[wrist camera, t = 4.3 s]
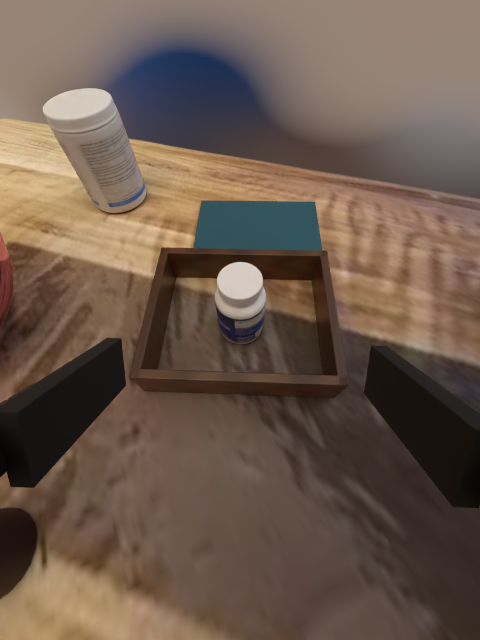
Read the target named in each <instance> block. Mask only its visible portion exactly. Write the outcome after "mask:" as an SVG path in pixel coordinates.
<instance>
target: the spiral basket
mask: <svg viewBox="0 0 480 640" xmlns="http://www.w3.org/2000/svg"><path fill="white" fill-rule="evenodd" d="M12 294H13V273H12V267H11V262H10V257H9V254H8V251H7V248H6V245H5V242H4V240H3V237H2V235H1V233H0V327H1V326H2V324H3V322H4V321H5V319H6V316H7V314H8V311H9V308H10V304H11V300H12Z"/></svg>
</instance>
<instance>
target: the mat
mask: <svg viewBox="0 0 480 640" xmlns="http://www.w3.org/2000/svg"><path fill="white" fill-rule="evenodd" d="M194 248H210V249H264V250H318V251H322V246H321V239H320V233H319V226H318V220H317V213H316V206H315V202H277V201H202V202H201V208H200V214H199V219H198V225H197V231H196V237H195V243H194Z"/></svg>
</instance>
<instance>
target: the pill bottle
mask: <svg viewBox="0 0 480 640" xmlns="http://www.w3.org/2000/svg"><path fill="white" fill-rule="evenodd" d="M215 304H216V310H217V315H218V321H219V326H220V331H221V333H222V335H223V336H224V337H225V338H226V339H227V340H228V341H230V342H232V343H235V344H247V343H250V342H252V341H254V340H255V339H256V338H258V336H259V335H260V334H261V332H262V328H263V322H264V313H265V304H266V293H265V290H264V287H263V277H262V274H261V272H260V271H259V270H258V269H257V268H256V267H255V266H253V265H252V264H249V263H245V262H236V263H231V264H229V265H227V266H225V267H224V268H223V269H222V270H221V271H220V272H219V274H218V277H217V289H216V292H215Z"/></svg>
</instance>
